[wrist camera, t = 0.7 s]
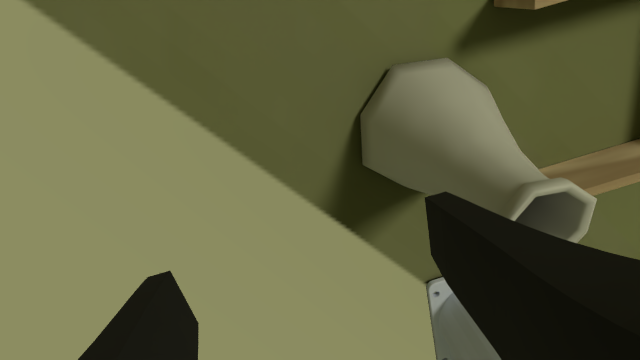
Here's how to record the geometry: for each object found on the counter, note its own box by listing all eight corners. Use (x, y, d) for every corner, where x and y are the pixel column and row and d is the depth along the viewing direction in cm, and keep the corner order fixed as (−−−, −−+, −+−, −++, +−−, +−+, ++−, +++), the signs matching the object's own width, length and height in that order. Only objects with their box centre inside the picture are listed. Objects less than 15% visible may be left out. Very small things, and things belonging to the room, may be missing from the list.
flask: (454, 190, 23) (581, 316, 15) (341, 175, 21) (408, 309, 13) (505, 71, 20) (702, 139, 12) (379, 41, 18) (500, 95, 10)
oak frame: (665, 139, 24) (717, 157, 21) (497, 189, 24) (529, 215, 21) (708, -68, 19) (783, -77, 16) (493, -7, 18) (535, -6, 16)
